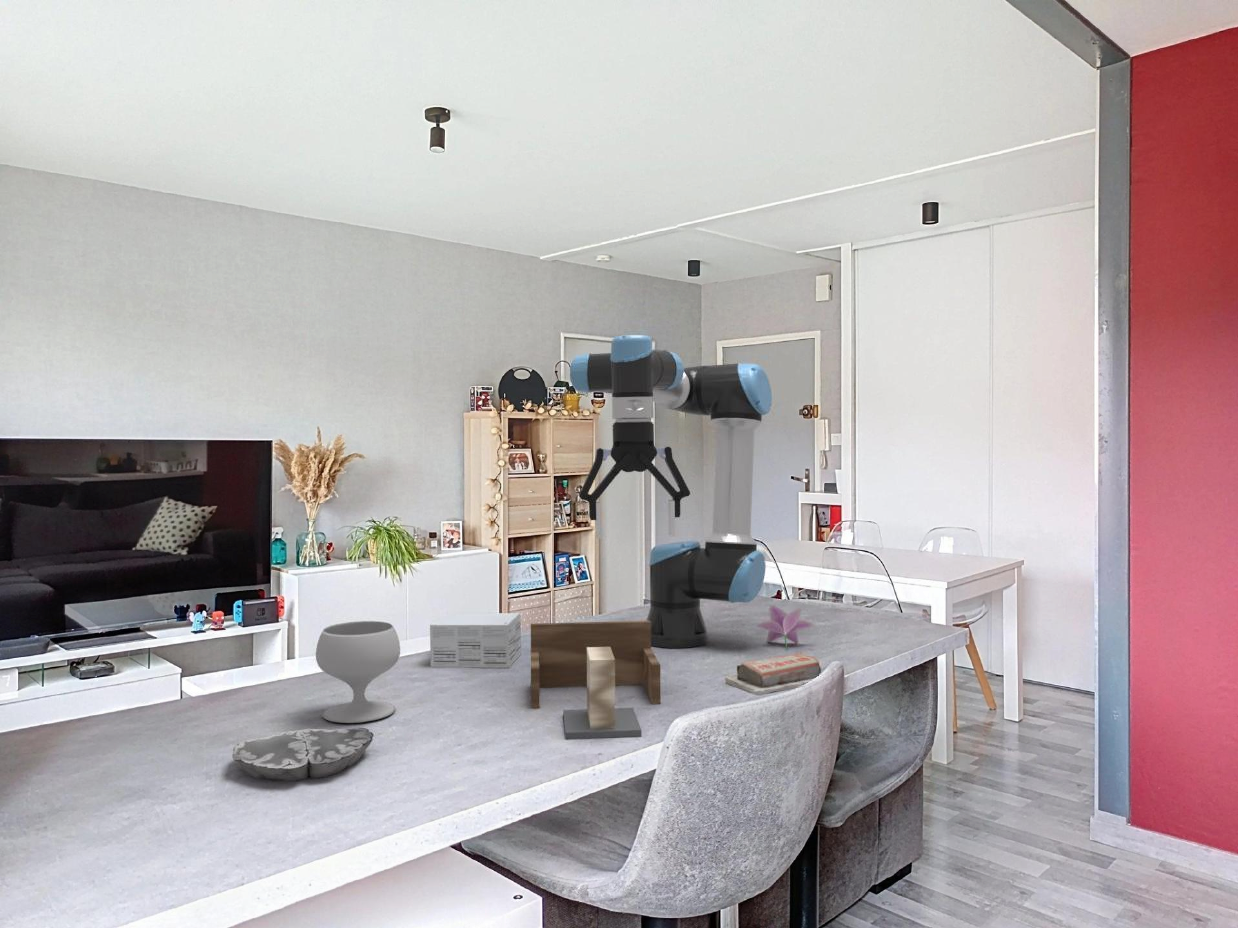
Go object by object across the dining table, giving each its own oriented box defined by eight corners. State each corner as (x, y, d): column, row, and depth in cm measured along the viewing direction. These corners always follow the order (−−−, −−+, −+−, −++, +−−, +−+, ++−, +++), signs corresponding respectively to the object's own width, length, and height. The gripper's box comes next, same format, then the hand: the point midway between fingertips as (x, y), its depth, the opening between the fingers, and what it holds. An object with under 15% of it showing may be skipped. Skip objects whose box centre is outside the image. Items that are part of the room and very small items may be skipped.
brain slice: (232, 799, 118) (232, 777, 118) (232, 758, 133) (232, 738, 133) (384, 776, 126) (384, 755, 125) (367, 739, 141) (367, 721, 141)
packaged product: (794, 649, 181) (829, 659, 173) (794, 672, 181) (829, 684, 173) (724, 660, 172) (757, 671, 163) (724, 685, 172) (757, 697, 164)
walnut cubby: (531, 685, 171) (530, 623, 171) (649, 681, 173) (649, 620, 173) (530, 708, 156) (530, 640, 156) (660, 703, 159) (660, 636, 158)
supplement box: (522, 654, 197) (521, 612, 197) (509, 669, 184) (508, 624, 184) (447, 652, 199) (447, 611, 199) (429, 667, 186) (429, 623, 186)
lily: (822, 652, 201) (816, 611, 206) (801, 640, 193) (795, 598, 197) (775, 662, 207) (769, 622, 212) (751, 651, 199) (747, 610, 203)
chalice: (324, 731, 144) (322, 639, 144) (310, 709, 157) (309, 624, 156) (409, 719, 151) (408, 631, 150) (390, 698, 163) (389, 616, 163)
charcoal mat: (563, 715, 152) (563, 709, 152) (632, 713, 153) (632, 707, 153) (565, 738, 140) (565, 732, 140) (641, 736, 141) (641, 729, 141)
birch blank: (590, 728, 142) (589, 660, 142) (587, 711, 151) (586, 647, 151) (615, 727, 142) (614, 659, 142) (610, 710, 151) (610, 646, 151)
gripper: (565, 422, 157) (568, 541, 158) (704, 419, 160) (706, 536, 161) (563, 422, 165) (566, 536, 166) (696, 419, 167) (698, 531, 168)
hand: (635, 536), depth 163 cm, fingers open, 13 cm apart
